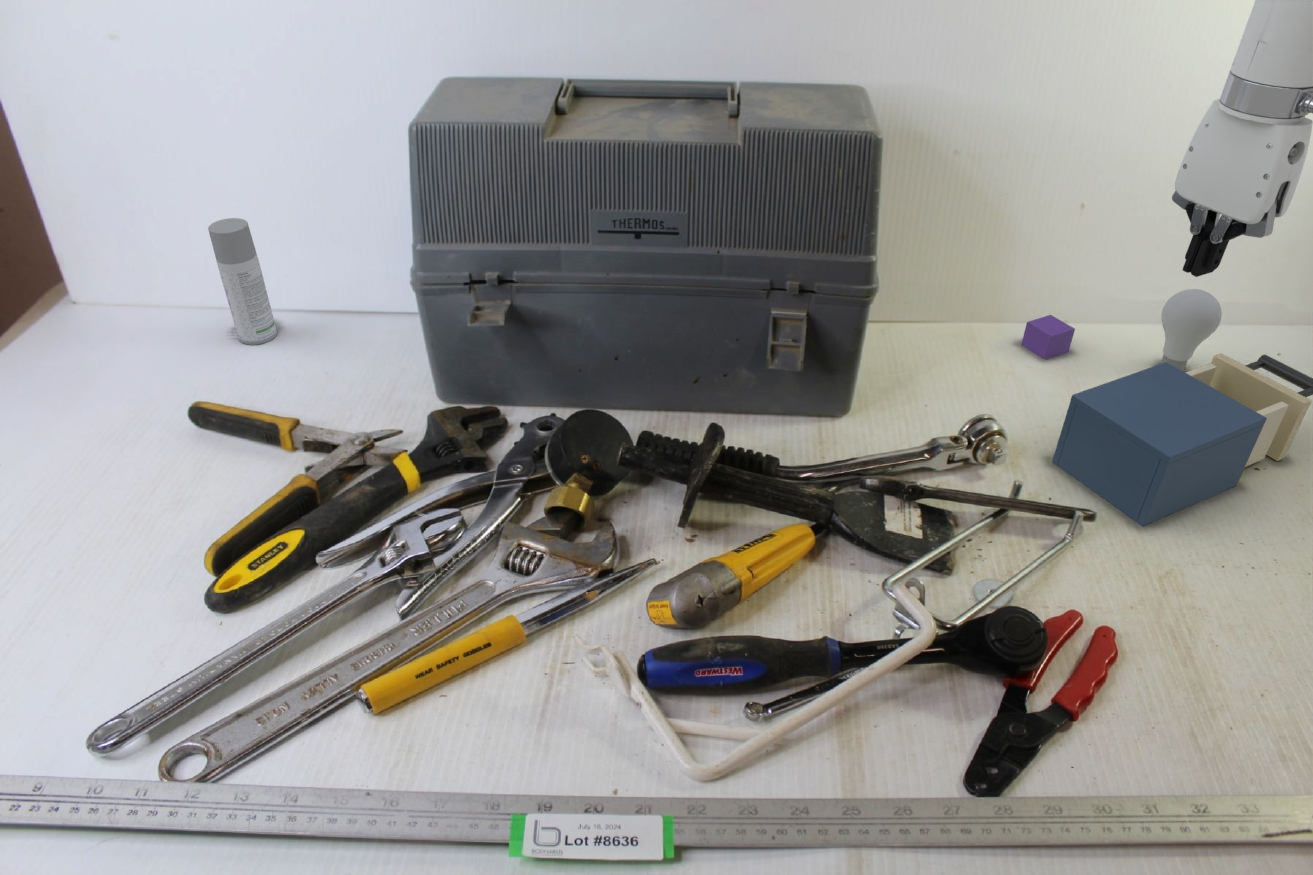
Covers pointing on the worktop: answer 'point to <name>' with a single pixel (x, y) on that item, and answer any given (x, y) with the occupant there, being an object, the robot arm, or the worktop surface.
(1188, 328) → the lightbulb
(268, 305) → the container
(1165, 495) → the blue drawer cabinet
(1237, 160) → the robot arm
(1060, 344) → the purple cube
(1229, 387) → the cream drawer
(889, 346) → the worktop surface
